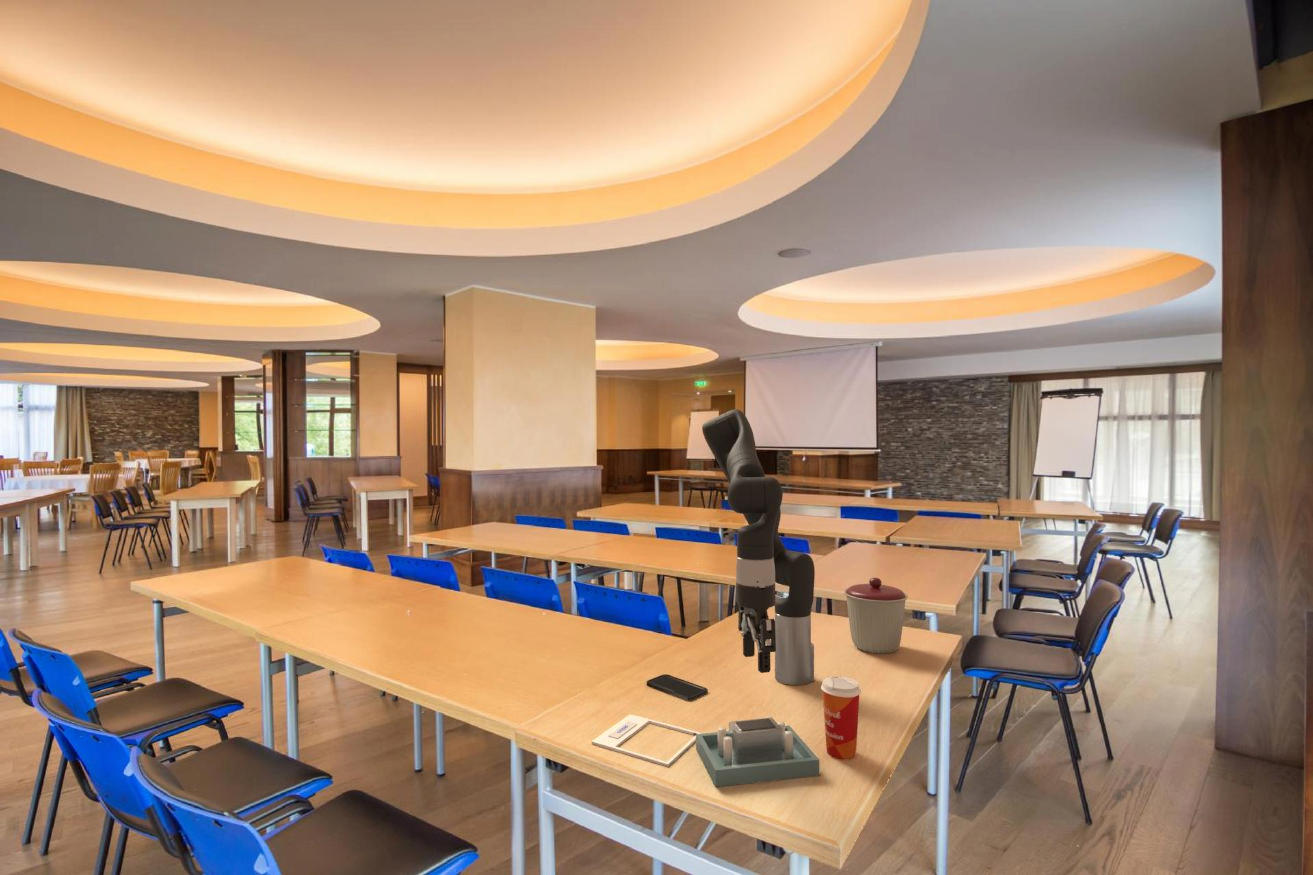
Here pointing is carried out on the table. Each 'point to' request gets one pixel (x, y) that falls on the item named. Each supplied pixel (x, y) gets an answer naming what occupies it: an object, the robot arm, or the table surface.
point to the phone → (677, 687)
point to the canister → (875, 616)
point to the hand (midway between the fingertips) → (756, 663)
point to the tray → (726, 771)
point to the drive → (756, 741)
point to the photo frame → (628, 729)
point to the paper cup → (841, 716)
